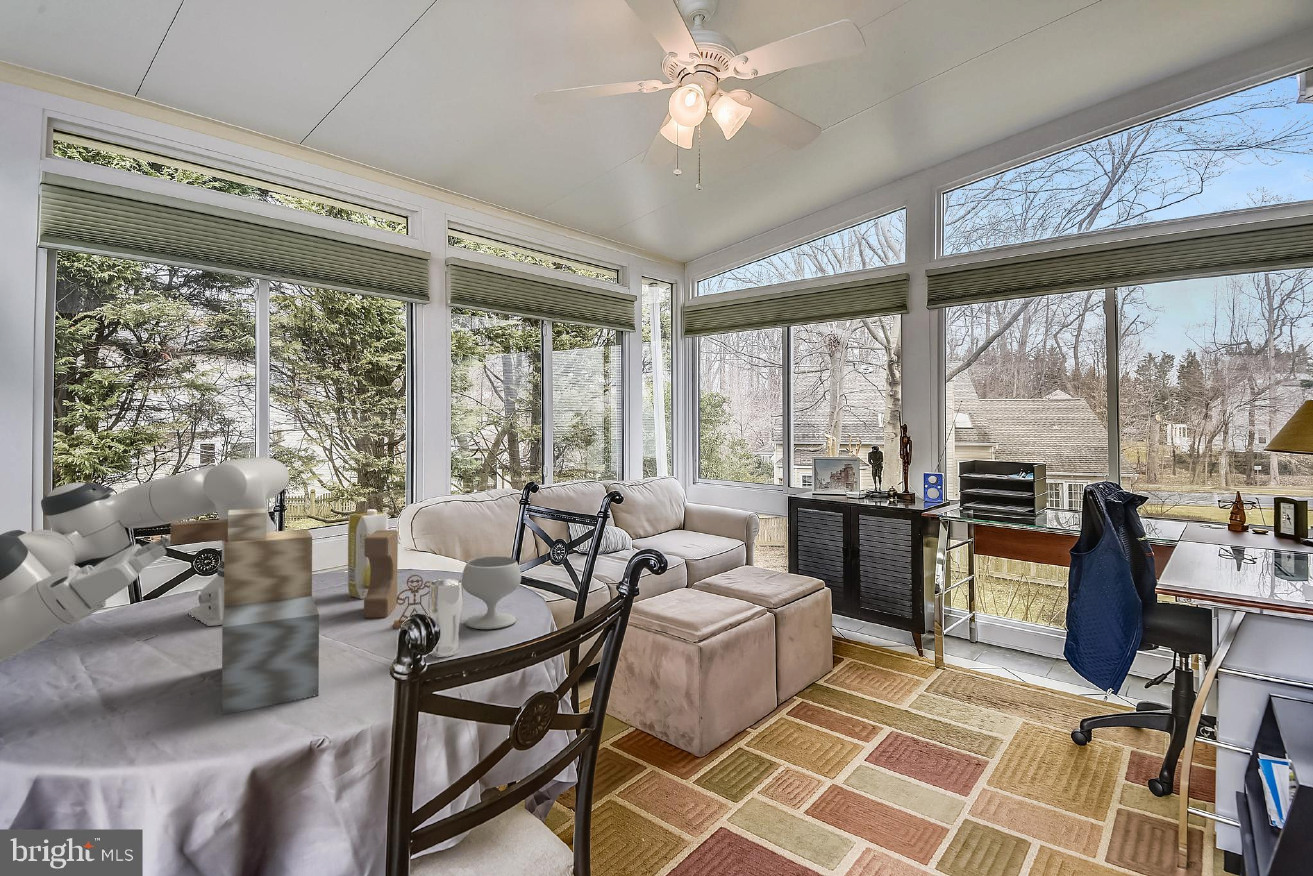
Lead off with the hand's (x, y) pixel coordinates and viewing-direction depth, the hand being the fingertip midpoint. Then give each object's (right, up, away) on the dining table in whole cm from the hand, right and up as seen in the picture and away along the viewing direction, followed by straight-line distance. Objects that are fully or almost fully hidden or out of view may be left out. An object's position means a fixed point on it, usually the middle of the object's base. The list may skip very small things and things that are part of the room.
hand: (166, 544), depth 112 cm
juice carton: (+7, -25, +62) cm, 67 cm away
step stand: (+16, -26, +4) cm, 31 cm away
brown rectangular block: (+7, 0, +5) cm, 9 cm away
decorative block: (+18, -25, +47) cm, 56 cm away
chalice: (+48, -26, +40) cm, 67 cm away
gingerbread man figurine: (+30, -26, +38) cm, 54 cm away
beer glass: (+43, -26, +20) cm, 55 cm away
